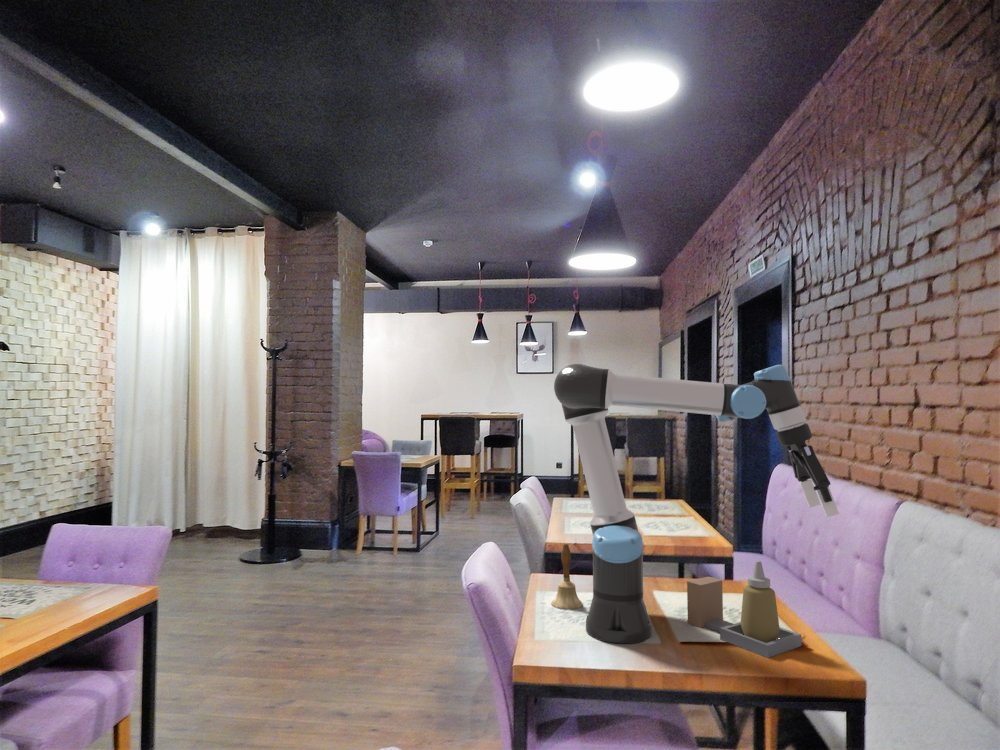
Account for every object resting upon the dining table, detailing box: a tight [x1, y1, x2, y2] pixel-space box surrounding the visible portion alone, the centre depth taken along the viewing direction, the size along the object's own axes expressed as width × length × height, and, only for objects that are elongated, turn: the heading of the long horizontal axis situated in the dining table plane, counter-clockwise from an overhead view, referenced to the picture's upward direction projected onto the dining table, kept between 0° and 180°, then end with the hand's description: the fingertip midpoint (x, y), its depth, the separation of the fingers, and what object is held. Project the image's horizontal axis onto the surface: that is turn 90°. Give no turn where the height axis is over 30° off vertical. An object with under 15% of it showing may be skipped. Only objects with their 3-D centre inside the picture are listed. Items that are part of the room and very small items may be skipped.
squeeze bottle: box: [740, 560, 780, 643], centre depth 136 cm, size 8×8×18 cm
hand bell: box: [551, 543, 584, 610], centre depth 162 cm, size 8×8×16 cm
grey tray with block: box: [686, 576, 802, 659], centre depth 140 cm, size 23×12×10 cm, turn 32°
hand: (823, 510), depth 146 cm, fingers open, 13 cm apart
